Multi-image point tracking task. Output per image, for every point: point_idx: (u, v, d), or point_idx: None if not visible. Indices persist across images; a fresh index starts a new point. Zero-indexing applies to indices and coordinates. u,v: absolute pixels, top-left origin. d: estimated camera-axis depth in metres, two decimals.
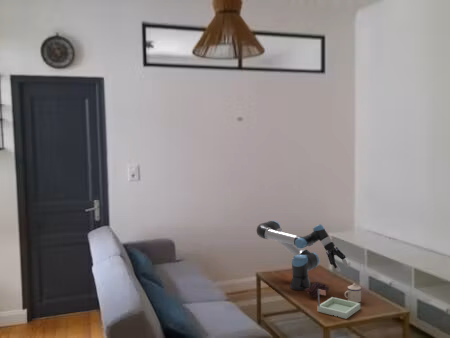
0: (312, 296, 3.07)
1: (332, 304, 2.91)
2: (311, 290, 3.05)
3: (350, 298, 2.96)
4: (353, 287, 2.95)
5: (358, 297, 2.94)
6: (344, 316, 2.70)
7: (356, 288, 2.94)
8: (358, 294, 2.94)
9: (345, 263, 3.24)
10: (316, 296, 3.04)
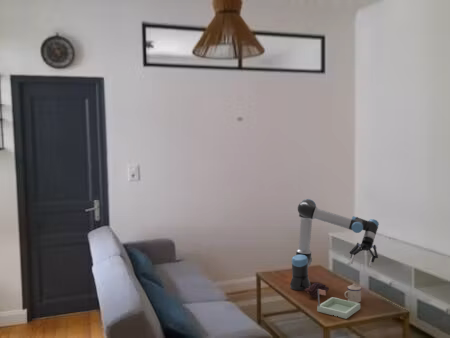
0: (312, 296, 3.07)
1: (332, 304, 2.91)
2: (311, 290, 3.05)
3: (350, 298, 2.96)
4: (353, 287, 2.95)
5: (358, 297, 2.94)
6: (344, 316, 2.70)
7: (356, 288, 2.94)
8: (358, 294, 2.94)
9: (353, 259, 3.11)
10: (316, 296, 3.04)
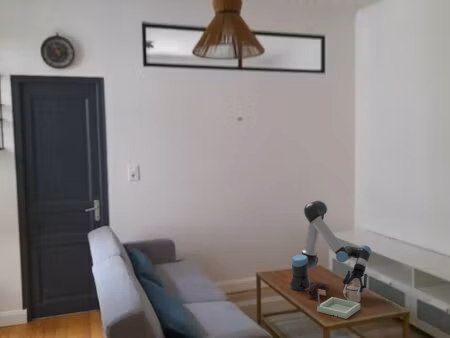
0: (312, 296, 3.07)
1: (332, 304, 2.91)
2: (311, 290, 3.05)
3: (349, 298, 2.96)
4: (352, 287, 2.95)
5: (357, 297, 2.94)
6: (344, 316, 2.70)
7: (355, 288, 2.94)
8: None
9: (346, 289, 2.99)
10: (316, 296, 3.04)
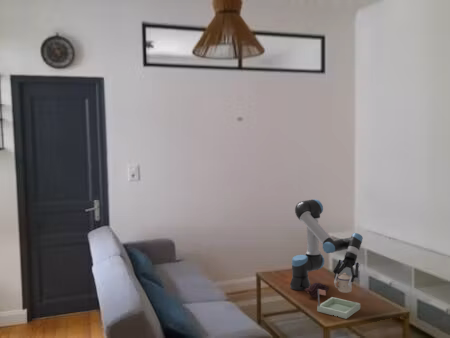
0: (312, 296, 3.07)
1: (332, 304, 2.91)
2: (311, 290, 3.05)
3: (340, 288, 2.83)
4: (343, 276, 2.83)
5: (349, 287, 2.82)
6: (344, 316, 2.70)
7: (346, 277, 2.82)
8: None
9: (336, 279, 2.87)
10: (316, 296, 3.04)
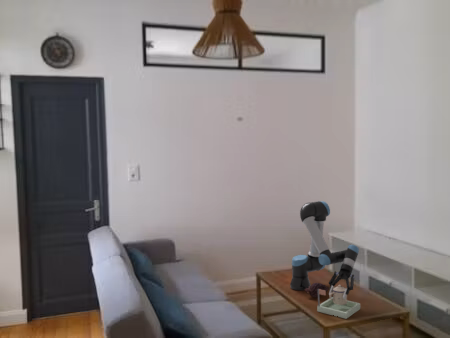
0: (312, 296, 3.07)
1: (332, 304, 2.91)
2: (311, 290, 3.05)
3: (335, 300, 2.81)
4: (338, 288, 2.80)
5: (343, 299, 2.79)
6: (344, 316, 2.70)
7: (341, 290, 2.79)
8: None
9: (331, 291, 2.84)
10: (316, 296, 3.04)
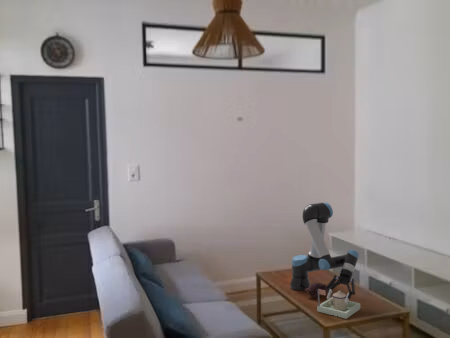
0: (312, 296, 3.07)
1: (332, 304, 2.91)
2: (311, 290, 3.05)
3: (335, 306, 2.81)
4: (338, 294, 2.81)
5: (343, 305, 2.80)
6: (344, 316, 2.70)
7: (341, 295, 2.80)
8: (343, 302, 2.79)
9: (330, 294, 2.86)
10: (316, 296, 3.04)
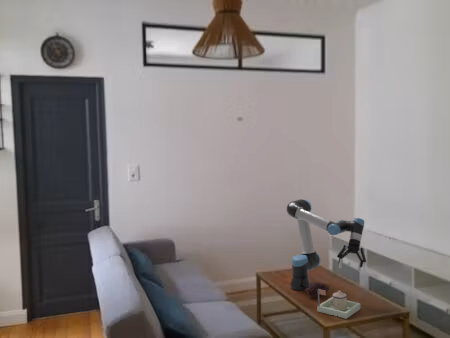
0: (312, 296, 3.07)
1: (332, 304, 2.91)
2: (311, 290, 3.05)
3: (335, 306, 2.81)
4: (338, 294, 2.81)
5: (343, 305, 2.80)
6: (344, 316, 2.70)
7: (341, 295, 2.80)
8: (343, 302, 2.79)
9: (341, 264, 3.02)
10: (316, 296, 3.04)
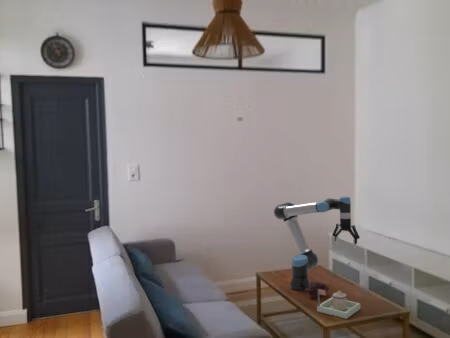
0: (312, 296, 3.07)
1: (332, 304, 2.91)
2: (311, 290, 3.05)
3: (335, 306, 2.81)
4: (338, 294, 2.81)
5: (343, 305, 2.80)
6: (344, 316, 2.70)
7: (341, 295, 2.80)
8: (343, 302, 2.79)
9: (337, 241, 3.22)
10: (316, 296, 3.04)
